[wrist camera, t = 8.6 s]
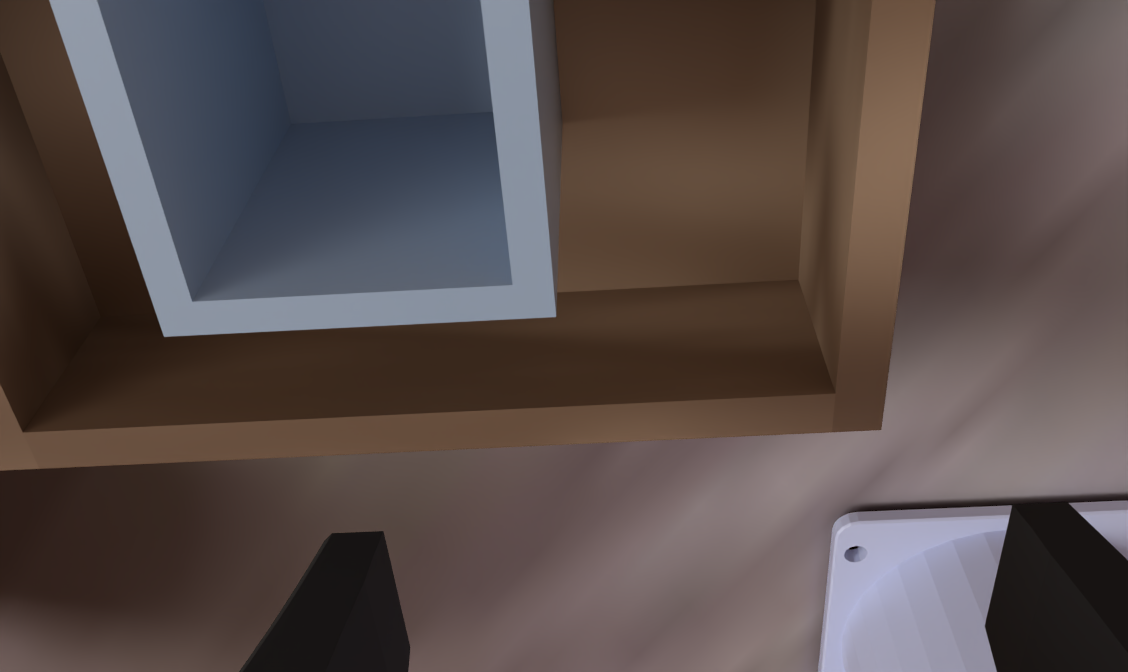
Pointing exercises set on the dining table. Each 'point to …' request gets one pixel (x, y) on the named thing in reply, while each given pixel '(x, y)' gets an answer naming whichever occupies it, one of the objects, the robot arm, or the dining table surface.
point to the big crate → (585, 260)
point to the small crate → (328, 156)
